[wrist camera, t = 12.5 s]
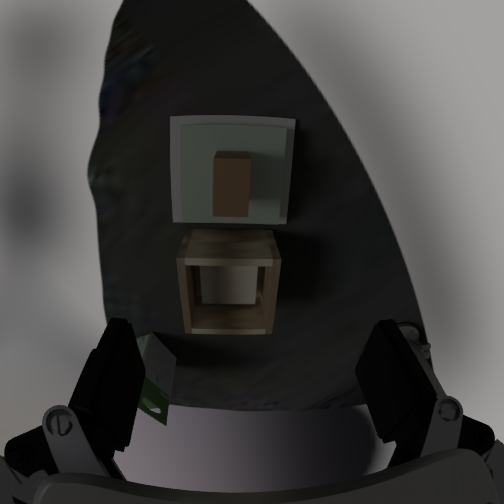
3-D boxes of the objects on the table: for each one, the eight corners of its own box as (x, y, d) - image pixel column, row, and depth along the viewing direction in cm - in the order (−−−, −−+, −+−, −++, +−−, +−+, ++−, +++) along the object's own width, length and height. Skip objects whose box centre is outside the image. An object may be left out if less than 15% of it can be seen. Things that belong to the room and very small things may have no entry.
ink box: (134, 337, 40) (113, 405, 28) (152, 330, 39) (133, 403, 27) (159, 362, 43) (146, 428, 31) (177, 357, 42) (167, 426, 31)
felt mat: (294, 119, 26) (295, 119, 26) (285, 222, 32) (286, 223, 32) (171, 116, 25) (170, 116, 25) (174, 220, 31) (173, 222, 31)
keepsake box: (271, 229, 32) (281, 259, 26) (265, 297, 37) (271, 333, 31) (186, 228, 32) (176, 257, 26) (191, 296, 36) (185, 333, 30)
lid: (283, 127, 26) (298, 131, 20) (275, 217, 31) (286, 245, 25) (184, 124, 26) (169, 127, 19) (185, 215, 30) (173, 243, 24)
